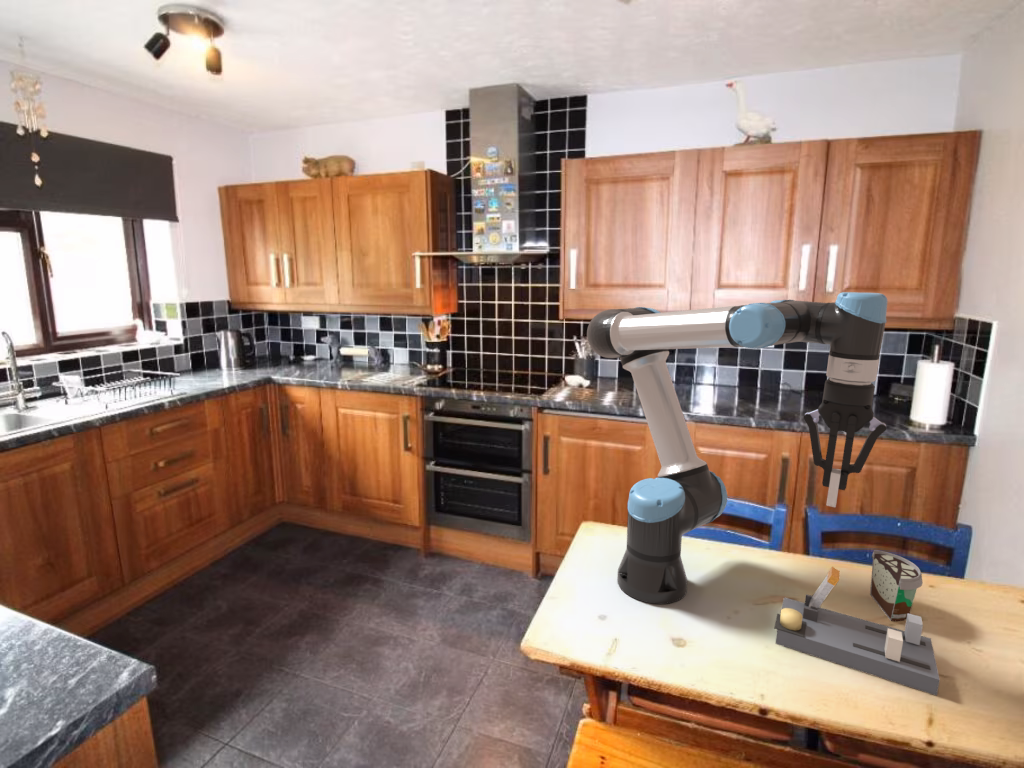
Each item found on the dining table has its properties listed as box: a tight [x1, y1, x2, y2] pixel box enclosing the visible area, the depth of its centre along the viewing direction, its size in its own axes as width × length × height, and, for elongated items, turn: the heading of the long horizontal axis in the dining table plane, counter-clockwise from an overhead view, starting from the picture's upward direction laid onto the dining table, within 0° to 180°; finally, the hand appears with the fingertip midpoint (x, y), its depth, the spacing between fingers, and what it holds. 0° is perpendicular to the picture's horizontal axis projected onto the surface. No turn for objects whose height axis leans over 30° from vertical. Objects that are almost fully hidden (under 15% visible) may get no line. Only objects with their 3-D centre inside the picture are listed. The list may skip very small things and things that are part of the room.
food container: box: [869, 549, 923, 623], centre depth 109 cm, size 12×6×10 cm, turn 168°
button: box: [780, 608, 803, 631], centre depth 100 cm, size 4×4×2 cm
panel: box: [774, 593, 941, 696], centre depth 98 cm, size 24×12×5 cm, turn 58°
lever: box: [808, 566, 841, 610], centre depth 102 cm, size 1×4×10 cm, turn 148°
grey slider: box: [904, 613, 924, 645], centre depth 96 cm, size 2×3×4 cm
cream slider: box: [885, 628, 903, 662], centre depth 91 cm, size 2×3×4 cm
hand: (831, 503), depth 99 cm, fingers closed
